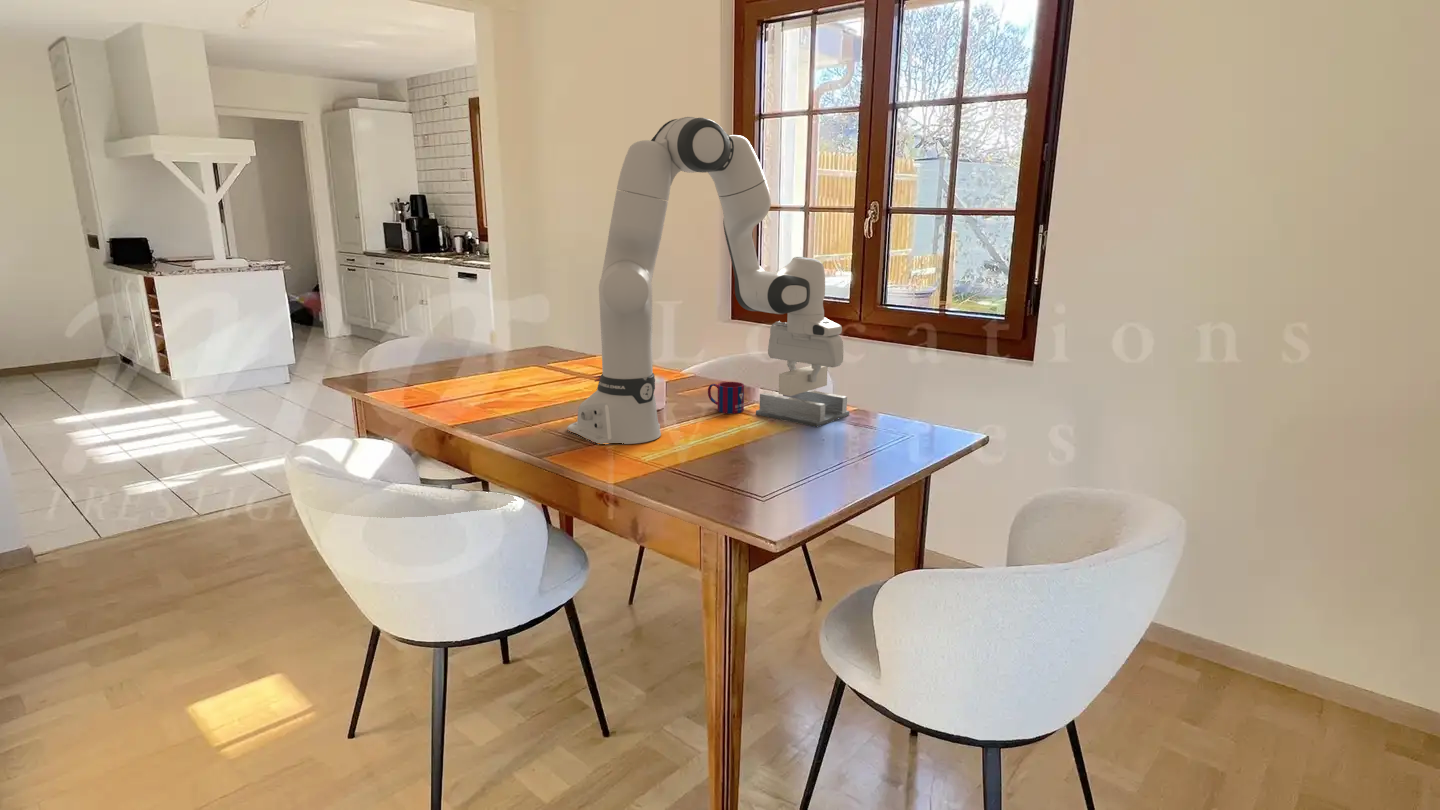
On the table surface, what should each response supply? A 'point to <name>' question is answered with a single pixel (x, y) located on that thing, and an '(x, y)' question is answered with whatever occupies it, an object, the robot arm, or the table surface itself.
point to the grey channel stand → (804, 407)
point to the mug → (729, 397)
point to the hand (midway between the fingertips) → (803, 380)
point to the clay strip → (801, 380)
